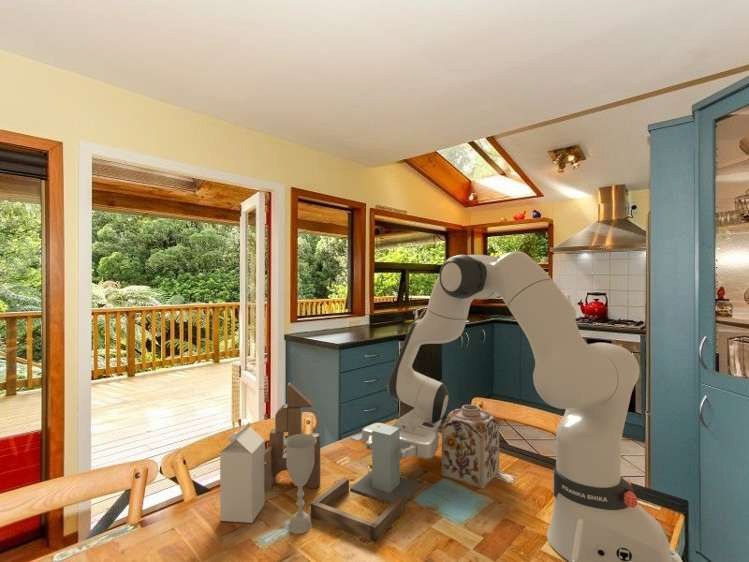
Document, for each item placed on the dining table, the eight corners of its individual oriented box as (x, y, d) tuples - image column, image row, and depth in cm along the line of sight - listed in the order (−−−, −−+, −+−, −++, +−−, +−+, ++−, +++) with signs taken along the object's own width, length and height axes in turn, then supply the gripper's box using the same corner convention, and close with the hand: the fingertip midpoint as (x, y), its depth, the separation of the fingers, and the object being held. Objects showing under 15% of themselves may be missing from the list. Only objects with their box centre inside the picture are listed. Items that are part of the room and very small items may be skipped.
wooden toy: (256, 491, 97) (255, 389, 97) (261, 477, 104) (261, 382, 104) (319, 488, 98) (319, 388, 98) (321, 475, 105) (321, 380, 105)
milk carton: (264, 504, 92) (264, 422, 91) (252, 524, 84) (251, 434, 84) (234, 503, 92) (234, 421, 92) (220, 521, 85) (219, 433, 85)
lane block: (399, 483, 100) (399, 428, 100) (390, 493, 96) (390, 435, 95) (382, 478, 102) (382, 424, 102) (372, 487, 98) (372, 430, 98)
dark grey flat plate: (421, 485, 100) (421, 483, 100) (401, 506, 91) (401, 504, 91) (373, 471, 107) (373, 469, 107) (350, 490, 98) (350, 488, 98)
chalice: (281, 519, 86) (281, 436, 86) (312, 513, 88) (312, 432, 88) (286, 540, 79) (286, 450, 79) (320, 532, 82) (320, 445, 81)
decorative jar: (483, 491, 98) (483, 417, 97) (440, 476, 105) (440, 408, 104) (500, 471, 107) (500, 405, 107) (460, 459, 114) (460, 397, 114)
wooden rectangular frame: (404, 509, 90) (404, 496, 90) (375, 542, 78) (375, 527, 78) (344, 489, 98) (344, 477, 98) (310, 517, 87) (310, 503, 87)
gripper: (376, 414, 115) (349, 429, 103) (443, 427, 105) (421, 447, 93) (376, 435, 115) (349, 454, 104) (443, 451, 105) (421, 474, 93)
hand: (384, 450), depth 98 cm, fingers open, 8 cm apart
